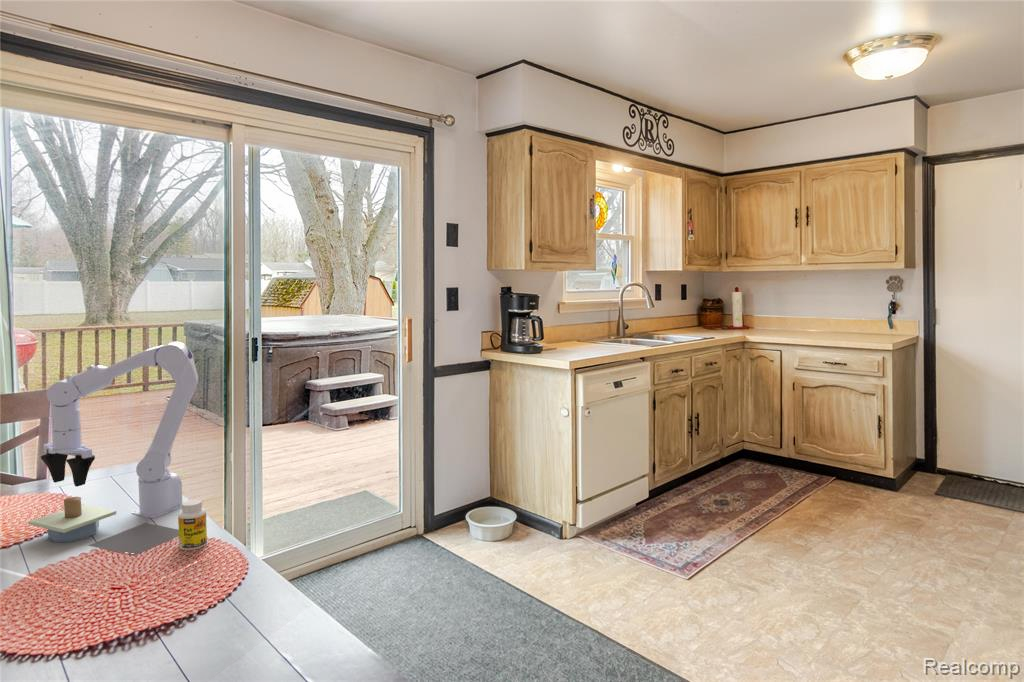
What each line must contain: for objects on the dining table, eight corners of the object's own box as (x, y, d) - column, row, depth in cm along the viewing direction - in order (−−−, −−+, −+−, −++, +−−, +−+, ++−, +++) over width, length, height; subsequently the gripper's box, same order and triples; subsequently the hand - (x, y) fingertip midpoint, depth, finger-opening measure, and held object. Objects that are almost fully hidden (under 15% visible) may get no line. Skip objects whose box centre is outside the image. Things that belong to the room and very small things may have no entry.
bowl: (80, 525, 148) (79, 509, 148) (107, 531, 145) (106, 515, 145) (40, 540, 140) (39, 523, 139) (67, 546, 137) (66, 529, 136)
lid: (82, 506, 150) (81, 487, 149) (116, 514, 145) (115, 494, 145) (28, 524, 138) (27, 503, 138) (63, 532, 134) (62, 511, 134)
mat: (145, 524, 150) (145, 522, 149) (188, 533, 145) (188, 531, 145) (88, 546, 136) (88, 545, 136) (133, 557, 132) (133, 555, 132)
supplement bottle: (180, 553, 134) (178, 508, 133) (178, 544, 138) (176, 500, 137) (208, 548, 137) (207, 503, 136) (205, 539, 141) (203, 496, 140)
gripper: (29, 429, 148) (32, 484, 149) (70, 435, 143) (73, 492, 144) (59, 423, 155) (62, 476, 156) (99, 429, 150) (102, 483, 151)
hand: (69, 483), depth 151 cm, fingers open, 7 cm apart
